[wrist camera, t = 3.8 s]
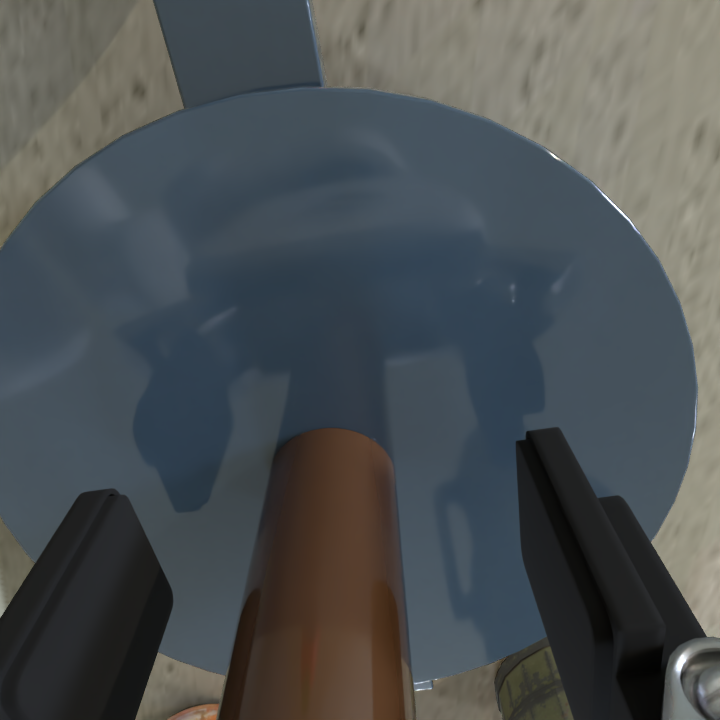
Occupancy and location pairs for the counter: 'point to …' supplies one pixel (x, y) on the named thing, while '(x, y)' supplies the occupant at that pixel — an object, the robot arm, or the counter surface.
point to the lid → (333, 380)
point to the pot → (242, 52)
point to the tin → (197, 713)
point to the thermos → (531, 686)
